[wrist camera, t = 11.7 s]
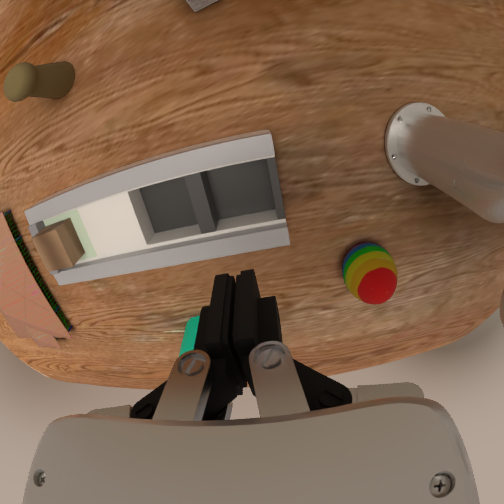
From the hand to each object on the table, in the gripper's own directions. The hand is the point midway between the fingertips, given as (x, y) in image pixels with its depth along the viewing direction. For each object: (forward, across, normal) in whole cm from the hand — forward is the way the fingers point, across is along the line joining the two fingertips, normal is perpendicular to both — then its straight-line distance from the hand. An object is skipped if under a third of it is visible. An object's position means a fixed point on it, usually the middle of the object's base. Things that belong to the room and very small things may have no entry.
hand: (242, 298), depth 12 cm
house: (+28, +56, +11) cm, 63 cm away
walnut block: (+23, +30, +3) cm, 38 cm away
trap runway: (+27, +16, +3) cm, 31 cm away
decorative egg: (+27, -15, +18) cm, 36 cm away
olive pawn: (+27, +24, -21) cm, 42 cm away
